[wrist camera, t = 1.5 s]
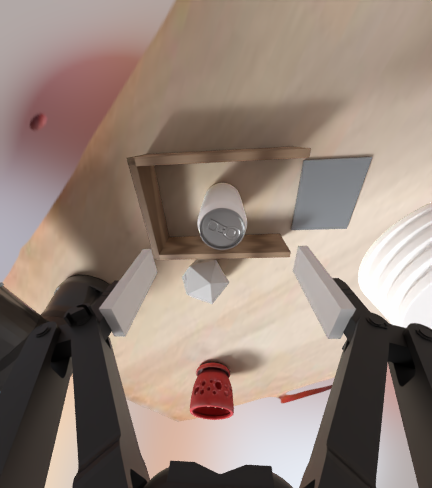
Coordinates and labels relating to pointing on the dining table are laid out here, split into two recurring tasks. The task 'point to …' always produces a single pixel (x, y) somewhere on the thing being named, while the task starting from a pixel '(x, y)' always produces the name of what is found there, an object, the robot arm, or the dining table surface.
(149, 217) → the walnut u-shaped enclosure
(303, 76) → the dining table surface
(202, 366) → the plant pot
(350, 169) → the slate mat
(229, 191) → the can
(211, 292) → the die
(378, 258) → the plate stack
